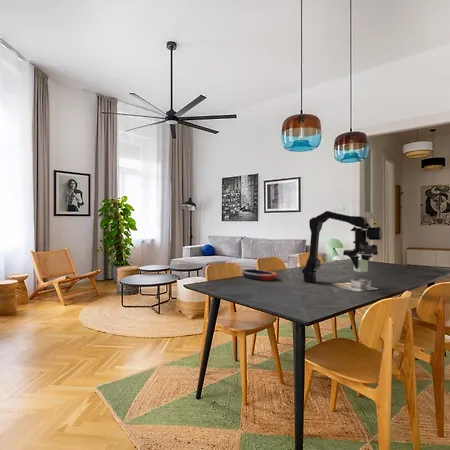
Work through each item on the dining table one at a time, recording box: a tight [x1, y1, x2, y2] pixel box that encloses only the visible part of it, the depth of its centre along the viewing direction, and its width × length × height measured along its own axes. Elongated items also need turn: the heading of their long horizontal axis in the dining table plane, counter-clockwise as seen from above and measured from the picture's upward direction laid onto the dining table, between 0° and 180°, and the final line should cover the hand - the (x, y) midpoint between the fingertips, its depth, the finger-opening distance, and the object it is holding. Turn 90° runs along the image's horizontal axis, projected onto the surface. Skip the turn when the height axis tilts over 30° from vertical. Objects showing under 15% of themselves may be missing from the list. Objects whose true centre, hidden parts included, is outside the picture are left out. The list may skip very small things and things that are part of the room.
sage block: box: [353, 258, 369, 273], centre depth 171 cm, size 5×5×6 cm
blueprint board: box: [330, 277, 378, 294], centre depth 176 cm, size 16×20×6 cm
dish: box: [240, 268, 279, 281], centre depth 210 cm, size 16×31×5 cm, turn 37°
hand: (360, 268), depth 171 cm, fingers closed on sage block, 5 cm apart
